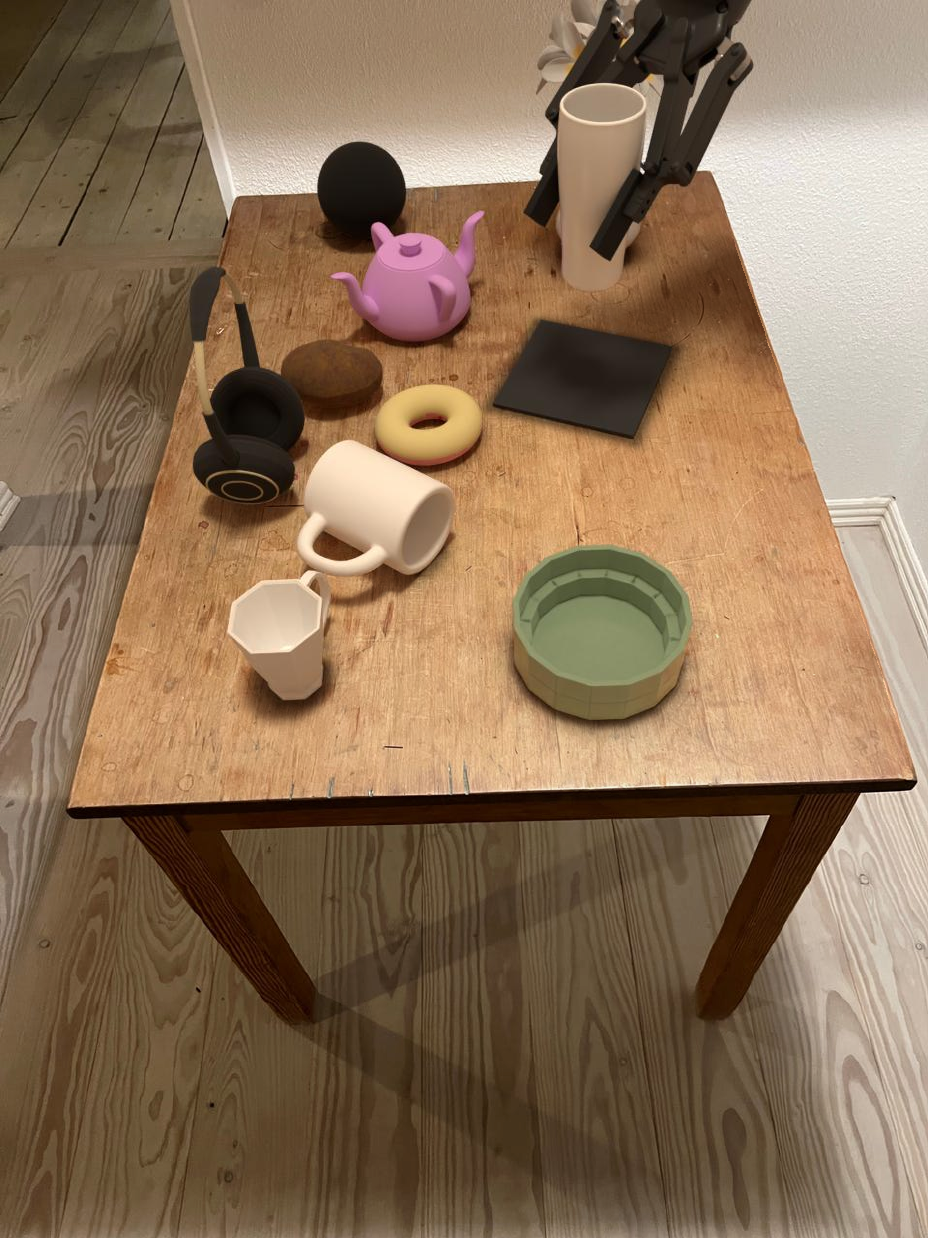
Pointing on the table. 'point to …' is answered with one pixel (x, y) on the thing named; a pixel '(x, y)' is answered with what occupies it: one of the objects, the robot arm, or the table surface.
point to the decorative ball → (361, 189)
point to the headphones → (242, 411)
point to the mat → (584, 378)
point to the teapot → (414, 283)
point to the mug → (374, 512)
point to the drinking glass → (595, 174)
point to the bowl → (600, 631)
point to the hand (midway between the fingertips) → (566, 236)
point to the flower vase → (563, 58)
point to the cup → (283, 632)
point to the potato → (332, 373)
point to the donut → (432, 442)
